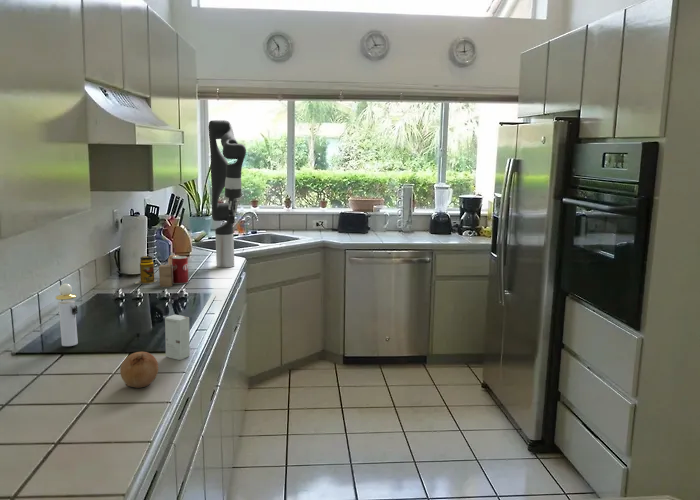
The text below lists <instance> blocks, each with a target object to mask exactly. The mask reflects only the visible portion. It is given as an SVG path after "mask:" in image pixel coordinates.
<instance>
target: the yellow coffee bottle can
mask: <svg viewBox="0 0 700 500" xmlns="http://www.w3.org/2000/svg"><path fill="white" fill-rule="evenodd" d="M139 271H140V272H139V273H140V280H138V281H136V282H135V284H143V285H144V284H145V285H152V284H153V283H156V282H157V281H158V280H157V279H156V280H155V265H154V262H153V256H151V255H146V256H145V255H143V256H141V257H140V263H139ZM158 282H159V281H158Z"/></svg>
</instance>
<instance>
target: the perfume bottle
mask: <svg viewBox="0 0 700 500" xmlns="http://www.w3.org/2000/svg"><path fill="white" fill-rule="evenodd" d="M58 291H59V293H60V294H57V295H56V296H55V300H57V301H58V312H59V314H58V315H59V325H60V326H59V327H60V328H59V329H60V339H61V346H62V347H72V346H73V347H74V346H76V345H78V343H79V341H78V328H77V318H76V317H77V315H76V314H78V313H79V312H78V305H76V304H75V303H76V301H75V300H73V299H77V294H76V293H72V292H73V288H72V285H71V284H69V283H62V284H60V286H59V288H58Z"/></svg>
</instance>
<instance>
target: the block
mask: <svg viewBox="0 0 700 500" xmlns="http://www.w3.org/2000/svg"><path fill="white" fill-rule="evenodd" d="M158 272H159V273H158V275H159V277H158V278H159V287H160V288H166V287H168V288H169V287H172V286H173V284H174V283H173V280H172V265H168V264H161V265H160V264H159V267H158Z"/></svg>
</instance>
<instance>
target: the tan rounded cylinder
mask: <svg viewBox="0 0 700 500" xmlns="http://www.w3.org/2000/svg"><path fill="white" fill-rule="evenodd" d="M175 256H180V255H179V254H171V255H169V257H168V258H167V263H168V264H167V265H172V260H171V259H172V257H175Z"/></svg>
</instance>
